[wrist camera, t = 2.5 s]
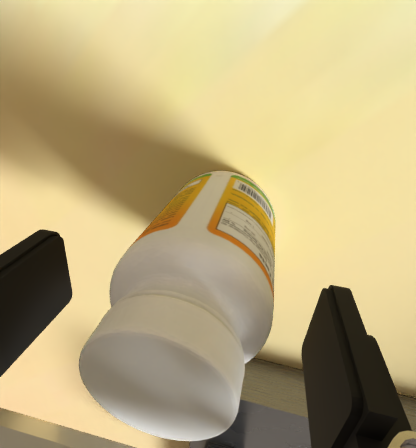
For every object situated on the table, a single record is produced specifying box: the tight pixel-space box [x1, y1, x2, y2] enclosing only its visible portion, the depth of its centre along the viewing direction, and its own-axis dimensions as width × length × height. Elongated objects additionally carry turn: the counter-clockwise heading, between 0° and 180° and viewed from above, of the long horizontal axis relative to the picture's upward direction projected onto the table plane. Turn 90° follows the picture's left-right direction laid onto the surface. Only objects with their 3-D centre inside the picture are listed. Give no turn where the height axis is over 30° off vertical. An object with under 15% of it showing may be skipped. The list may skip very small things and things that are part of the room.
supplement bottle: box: [79, 171, 275, 441], centre depth 11 cm, size 5×5×10 cm
